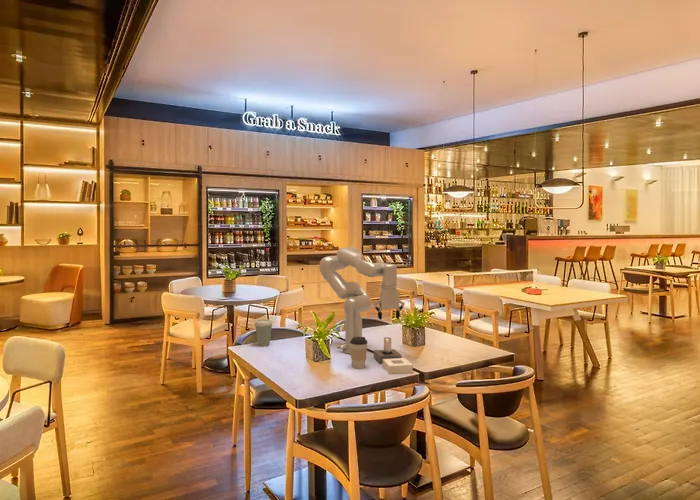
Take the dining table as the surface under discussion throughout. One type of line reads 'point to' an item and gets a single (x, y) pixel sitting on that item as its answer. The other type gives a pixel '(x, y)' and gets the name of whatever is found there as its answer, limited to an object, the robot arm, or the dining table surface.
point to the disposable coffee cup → (263, 331)
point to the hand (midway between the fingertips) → (388, 318)
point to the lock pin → (387, 345)
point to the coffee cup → (358, 352)
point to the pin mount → (385, 355)
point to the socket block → (397, 366)
